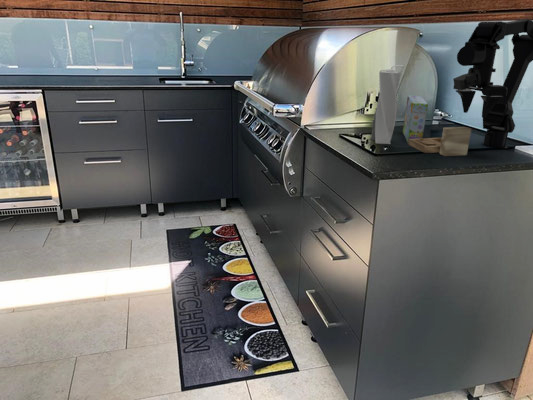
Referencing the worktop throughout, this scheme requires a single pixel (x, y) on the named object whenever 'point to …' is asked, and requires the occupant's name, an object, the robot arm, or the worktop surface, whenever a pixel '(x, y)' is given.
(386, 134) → the skyscraper
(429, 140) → the oak rack
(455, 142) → the birch panel
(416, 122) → the snack box
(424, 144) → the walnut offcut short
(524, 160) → the worktop surface
